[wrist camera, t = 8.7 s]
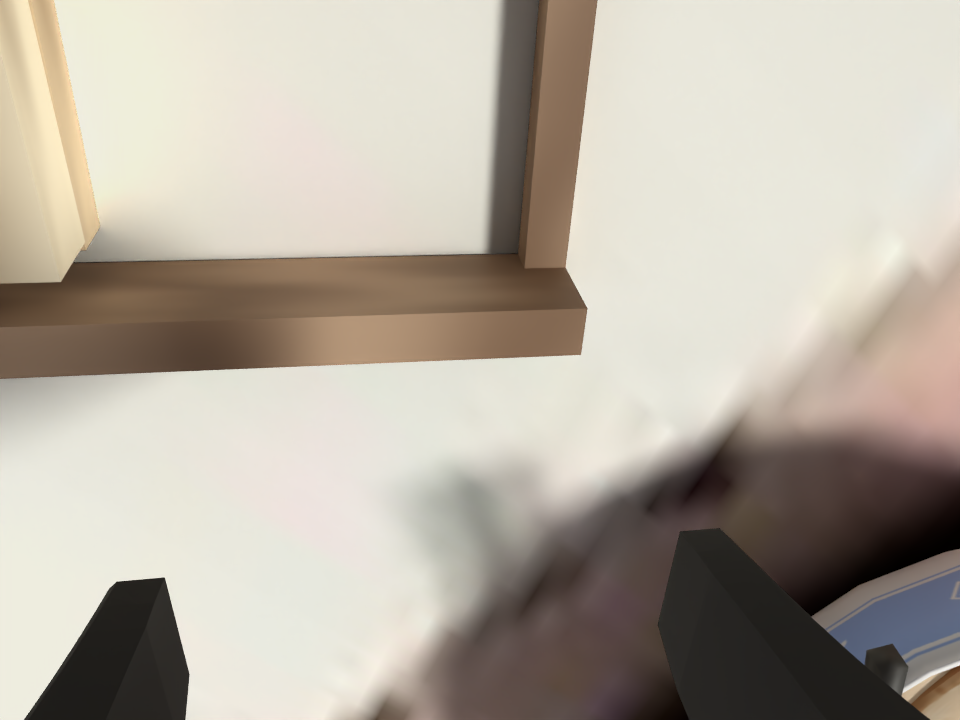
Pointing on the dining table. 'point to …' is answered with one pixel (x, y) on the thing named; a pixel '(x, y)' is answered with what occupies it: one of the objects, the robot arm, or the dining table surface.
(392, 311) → the rack
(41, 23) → the offcut lower
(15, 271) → the offcut upper
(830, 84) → the dining table surface
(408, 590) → the dining table surface
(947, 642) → the ramen bowl
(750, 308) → the dining table surface
